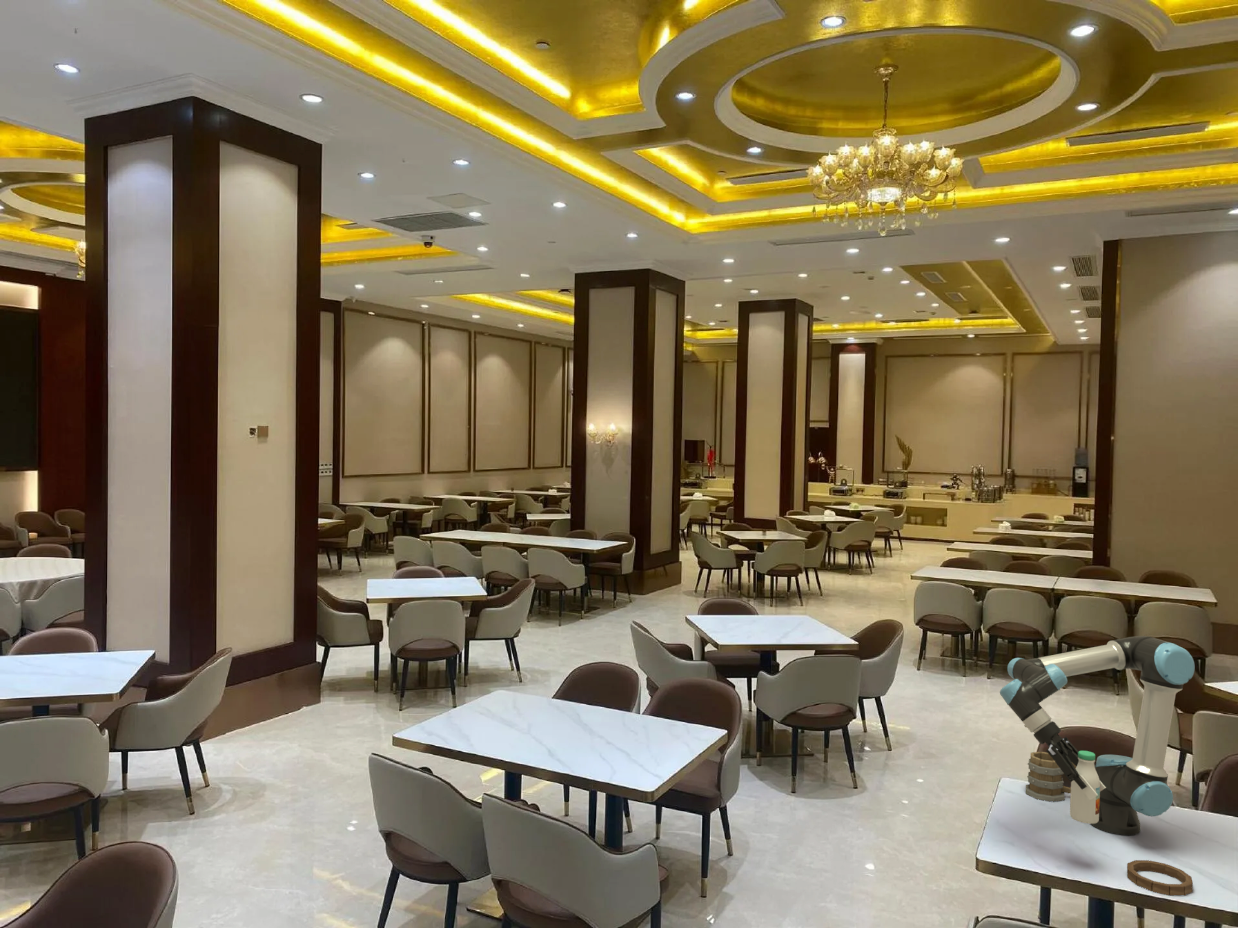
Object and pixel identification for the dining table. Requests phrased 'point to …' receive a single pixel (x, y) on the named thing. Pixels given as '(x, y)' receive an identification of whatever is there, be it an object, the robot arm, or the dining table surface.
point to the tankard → (1045, 778)
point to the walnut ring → (1159, 887)
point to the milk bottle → (1079, 801)
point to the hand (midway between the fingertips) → (1097, 793)
